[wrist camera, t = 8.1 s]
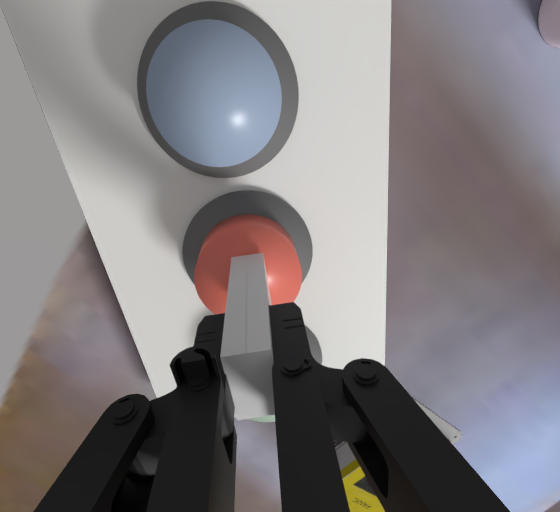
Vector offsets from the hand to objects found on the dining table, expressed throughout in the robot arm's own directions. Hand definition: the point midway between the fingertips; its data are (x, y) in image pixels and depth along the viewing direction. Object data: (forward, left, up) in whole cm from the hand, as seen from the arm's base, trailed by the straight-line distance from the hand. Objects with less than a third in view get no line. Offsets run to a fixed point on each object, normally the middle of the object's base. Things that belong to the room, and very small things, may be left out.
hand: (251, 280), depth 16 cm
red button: (0, 0, -3) cm, 3 cm away
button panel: (0, 0, -6) cm, 6 cm away
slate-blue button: (0, +8, -3) cm, 8 cm away
